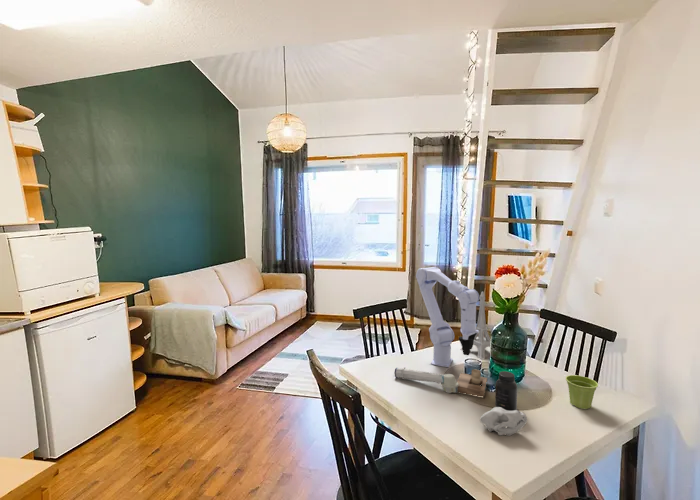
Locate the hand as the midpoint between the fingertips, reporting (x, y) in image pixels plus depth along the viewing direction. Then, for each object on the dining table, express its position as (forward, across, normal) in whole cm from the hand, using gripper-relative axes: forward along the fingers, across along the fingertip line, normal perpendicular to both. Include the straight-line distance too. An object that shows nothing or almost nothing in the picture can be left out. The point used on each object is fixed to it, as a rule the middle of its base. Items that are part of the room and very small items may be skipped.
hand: (467, 351), depth 141 cm
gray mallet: (+11, -15, +14) cm, 23 cm away
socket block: (+11, -10, -3) cm, 15 cm away
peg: (+11, -10, -4) cm, 15 cm away
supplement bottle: (+11, -19, -16) cm, 27 cm away
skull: (+11, -34, -15) cm, 39 cm away
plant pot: (+11, -5, -38) cm, 40 cm away
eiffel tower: (+10, +30, -2) cm, 32 cm away
